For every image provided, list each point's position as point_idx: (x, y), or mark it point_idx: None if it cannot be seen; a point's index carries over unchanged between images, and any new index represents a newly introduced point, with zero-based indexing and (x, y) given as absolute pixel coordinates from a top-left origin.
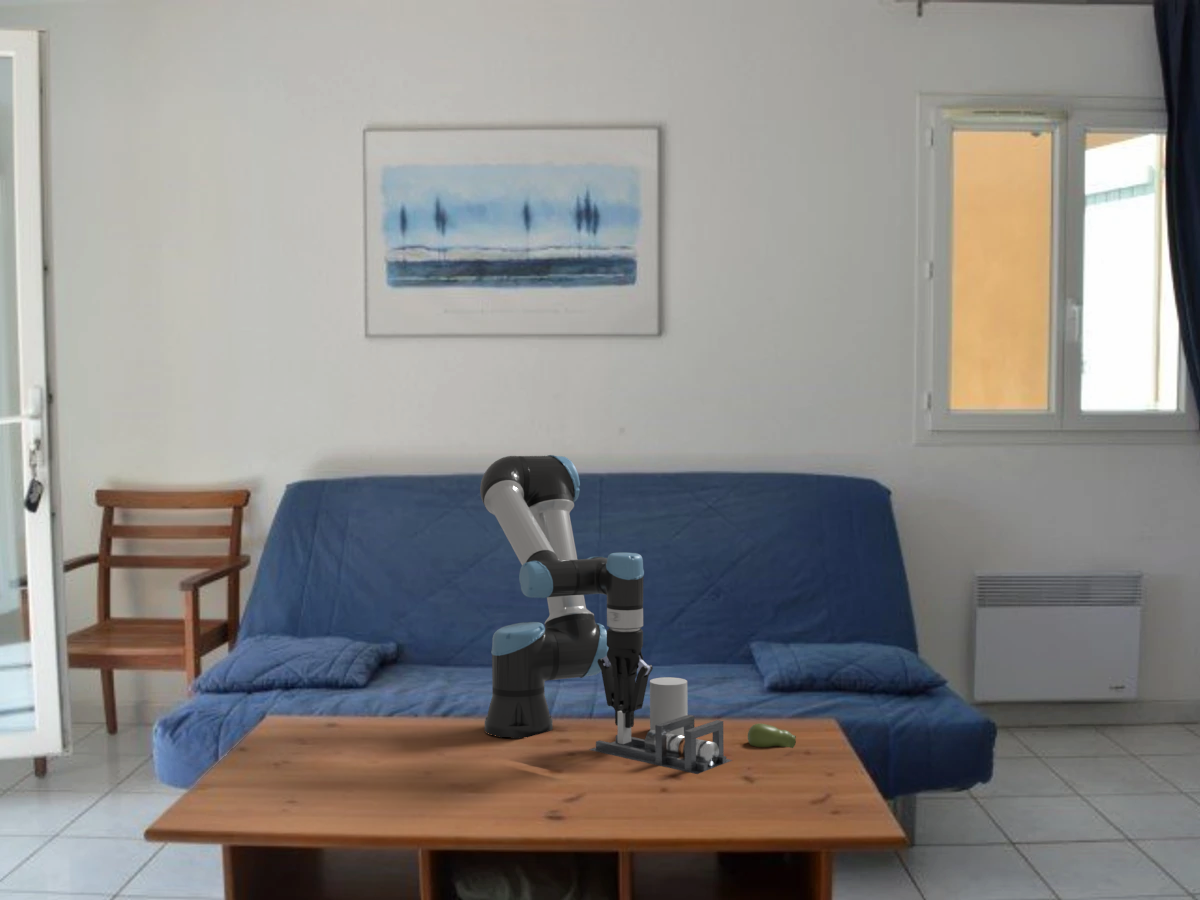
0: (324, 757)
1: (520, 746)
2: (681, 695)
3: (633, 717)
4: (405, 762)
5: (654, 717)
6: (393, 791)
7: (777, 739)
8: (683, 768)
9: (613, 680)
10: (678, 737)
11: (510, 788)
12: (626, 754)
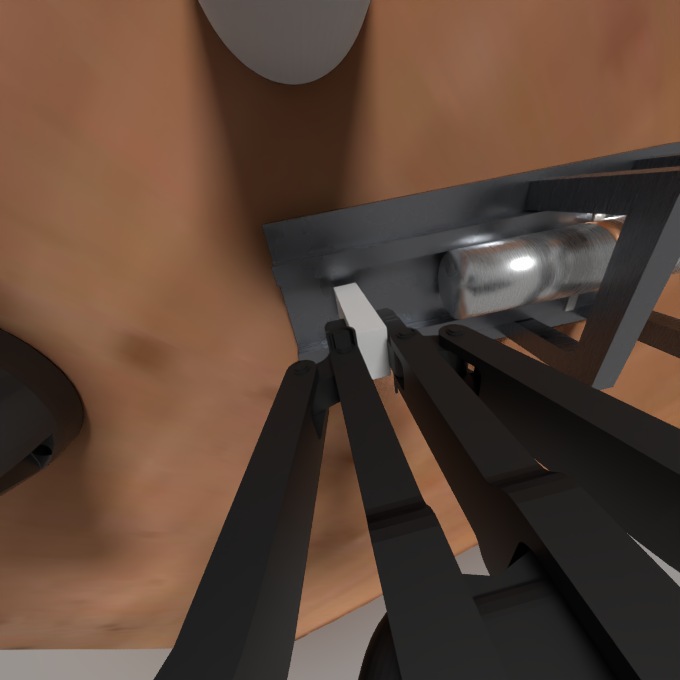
0: (103, 608)
1: (158, 443)
2: None
3: (402, 324)
4: (178, 563)
5: (280, 32)
6: None
7: None
8: (573, 310)
9: (293, 493)
10: (591, 283)
11: None
12: None
